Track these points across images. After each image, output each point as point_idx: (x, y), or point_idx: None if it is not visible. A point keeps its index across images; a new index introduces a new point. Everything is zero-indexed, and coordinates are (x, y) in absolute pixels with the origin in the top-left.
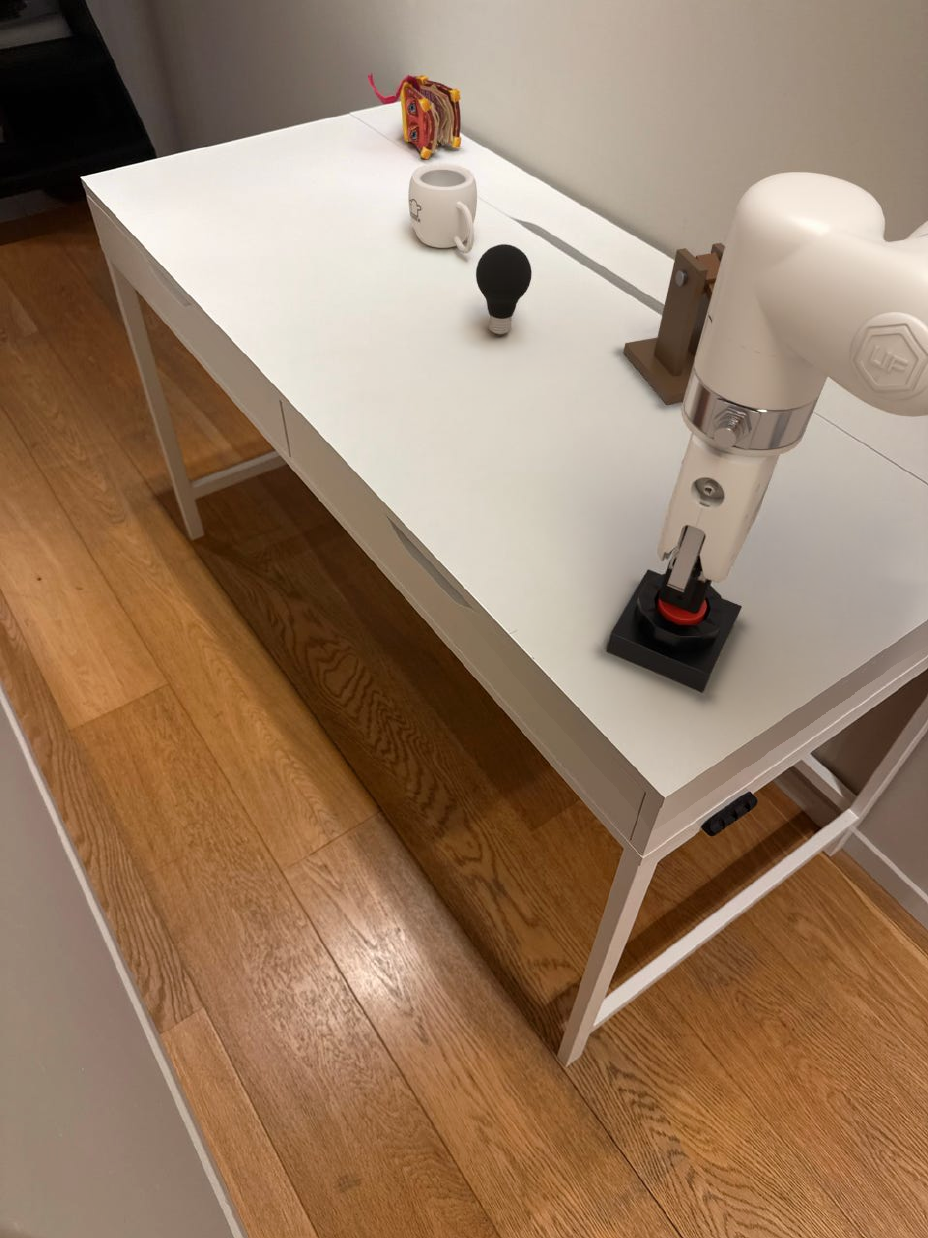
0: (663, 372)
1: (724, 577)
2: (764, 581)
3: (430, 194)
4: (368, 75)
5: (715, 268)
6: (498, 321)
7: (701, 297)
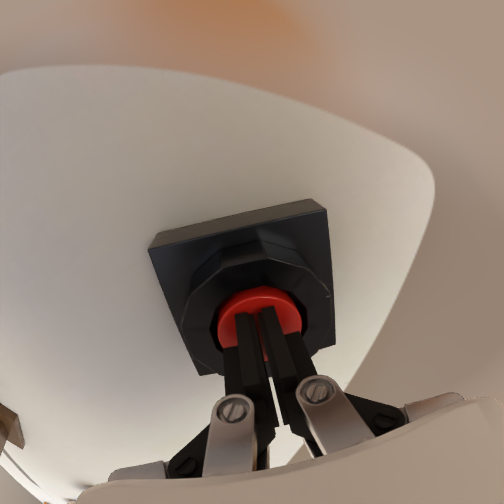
0: (8, 428)
1: (498, 406)
2: (61, 246)
3: None
4: None
5: None
6: None
7: None
